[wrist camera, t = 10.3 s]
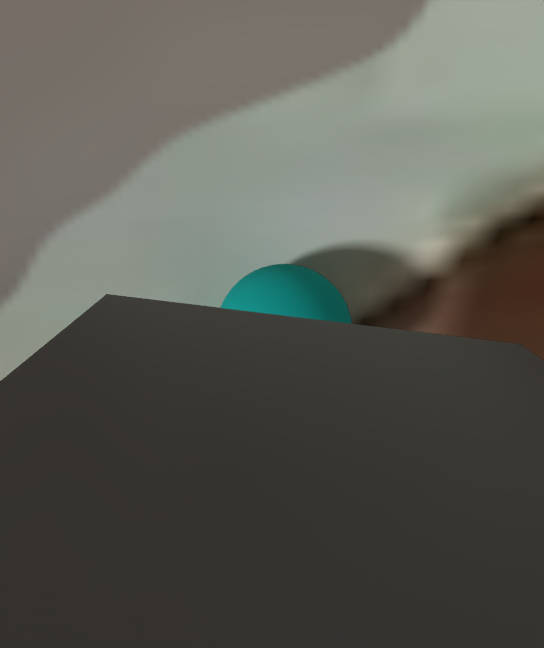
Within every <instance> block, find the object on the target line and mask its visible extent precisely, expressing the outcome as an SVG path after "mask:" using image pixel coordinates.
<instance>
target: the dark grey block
mask: <svg viewBox="0 0 544 648" xmlns="http://www.w3.org/2000/svg"><path fill="white" fill-rule="evenodd" d="M0 648H544V360H542V359H541V358H540V357H538V356H537V355H535V354H534V353H532V352H531V351H529V350H528V349H526V348H525V347H524V346H522V345H521V344H516V343H507V342H499V341H491V340H482V339H474V338H466V337H457V336H449V335H441V334H433V333H424V332H416V331H408V330H399V329H391V328H383V327H375V326H366V325H358V324H350V323H341V322H333V321H325V320H316V319H308V318H300V317H292V316H283V315H275V314H267V313H258V312H250V311H242V310H234V309H225V308H217V307H209V306H200V305H192V304H184V303H175V302H167V301H159V300H151V299H142V298H134V297H126V296H117V295H109V294H106V295H105V296H104V297H103V298H102V299H100V300H99V301H98V302H97V303H95V304H94V305H93V306H92V307H91V308H89V309H88V310H87V311H86V312H84V313H83V314H82V315H81V316H80V317H78V318H77V319H76V320H75V321H73V322H72V323H71V324H70V325H69V326H67V327H66V328H65V329H64V330H62V331H61V332H60V333H59V334H58V335H56V336H55V337H54V338H53V339H51V340H50V341H49V342H48V343H47V344H45V345H44V346H43V347H42V348H40V349H39V350H38V351H37V352H36V353H34V354H33V355H32V356H31V357H29V358H28V359H27V360H26V361H25V362H23V363H22V364H21V365H20V366H18V367H17V368H16V369H15V370H14V371H12V372H11V373H10V374H9V375H7V376H6V377H5V378H4V379H3V380H1V381H0Z"/></svg>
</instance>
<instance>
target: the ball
mask: <svg viewBox="0 0 544 648" xmlns="http://www.w3.org/2000/svg"><path fill="white" fill-rule="evenodd" d="M221 308H225V309H234V310H242V311H250V312H258V313H267V314H275V315H283V316H292V317H300V318H308V319H316V320H325V321H333V322H341V323H350V324H352V322H351V317H350V313H349V310H348V307H347V305H346V303H345V301H344V299H343V297H342V296H341V294H340V292H339V291H338V290H337V289H336V287H335V286H334V285H333V284H332V283H331V282H329V281H328V280H327V279H326V278H325V277H323V276H322V275H320V274H319V273H317V272H315V271H313V270H311V269H308V268H305V267H302V266H297V265H291V264H277V265H271V266H267V267H263V268H260V269H258V270H255V271H253V272H252V273H250V274H248V275H247V276H245V277H244V278H242V279H241V280H240V281H239V282H238V283H237V284H236V285H235V286H234V287H233V288H232V289H231V290H230V292H229V293H228V295H227V296H226V298H225V299H224V301H223V303H222V306H221Z"/></svg>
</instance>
